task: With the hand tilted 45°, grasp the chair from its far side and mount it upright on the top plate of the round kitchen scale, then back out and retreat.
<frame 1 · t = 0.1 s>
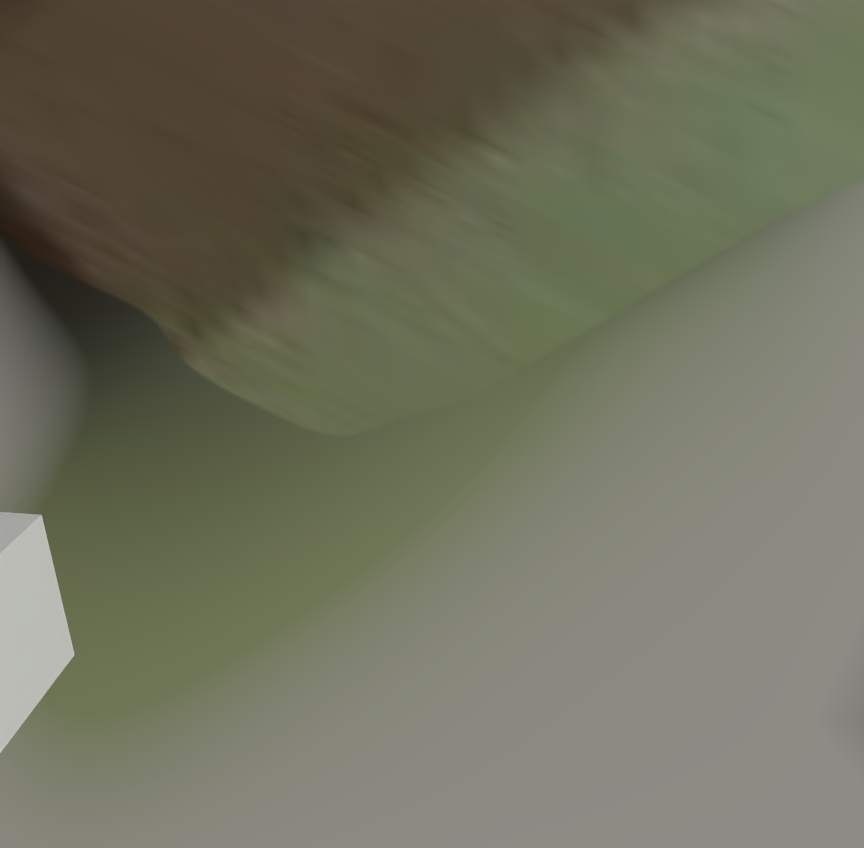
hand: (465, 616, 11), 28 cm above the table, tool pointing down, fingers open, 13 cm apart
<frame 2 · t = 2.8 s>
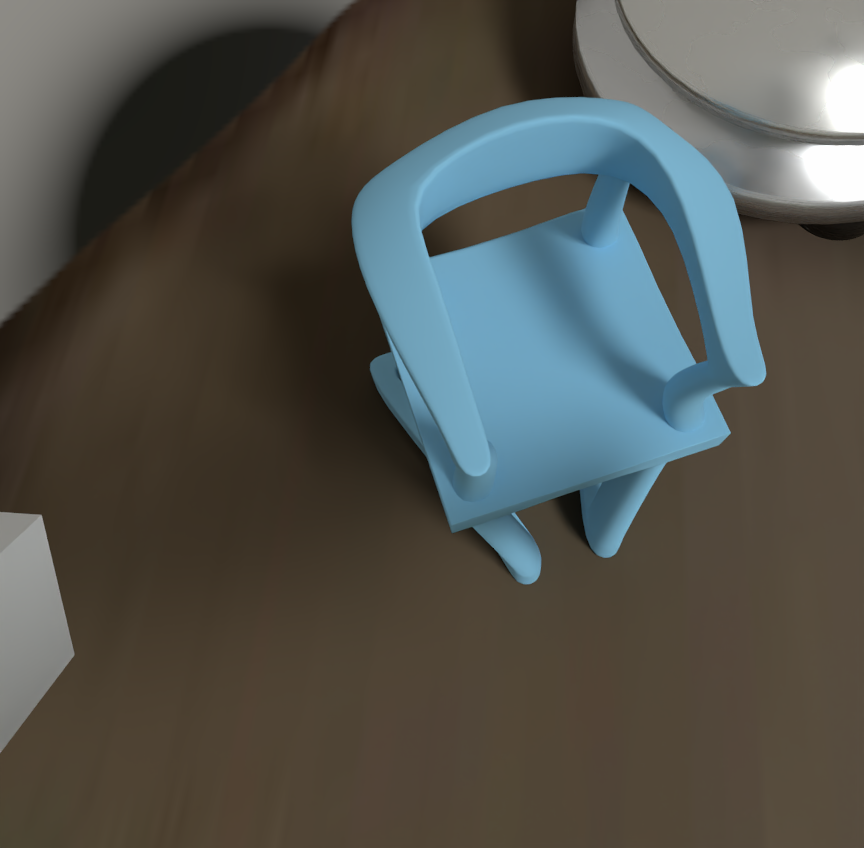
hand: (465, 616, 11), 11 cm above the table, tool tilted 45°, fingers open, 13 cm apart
round kitchen scale: (768, 84, 28), on the table
chair: (522, 447, 24), on the table
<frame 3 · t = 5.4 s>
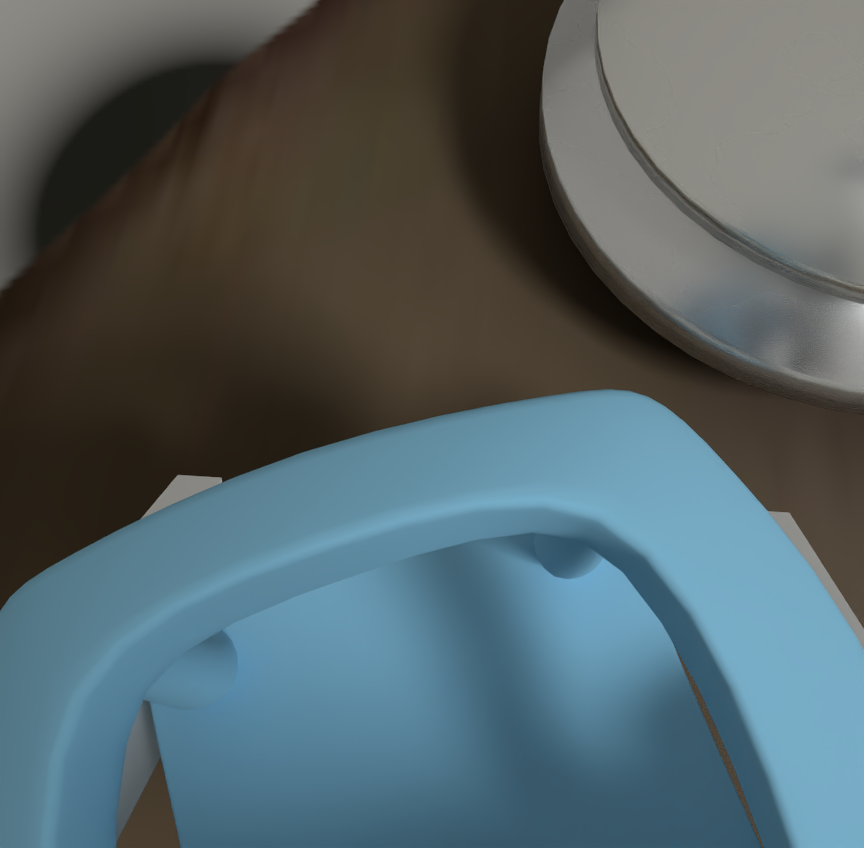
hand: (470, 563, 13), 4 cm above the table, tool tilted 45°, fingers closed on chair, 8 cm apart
round kitchen scale: (818, 180, 20), on the table
chair: (461, 758, 16), on the table, touching gripper
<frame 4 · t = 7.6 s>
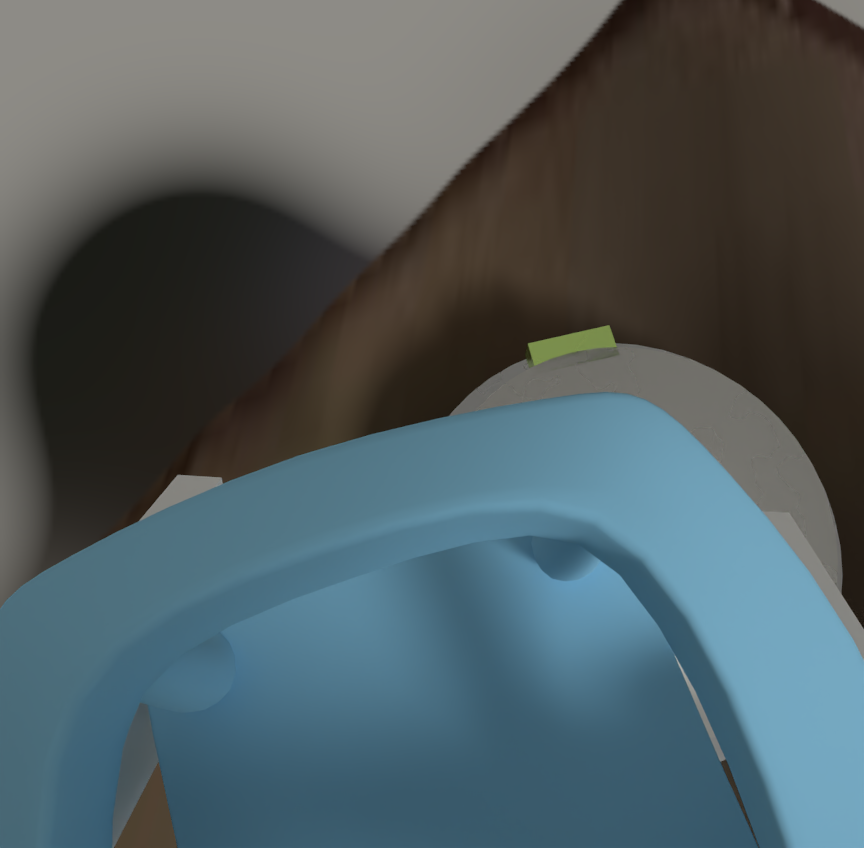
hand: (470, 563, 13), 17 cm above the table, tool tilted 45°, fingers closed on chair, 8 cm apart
round kitchen scale: (602, 554, 29), on the table
chair: (460, 760, 16), point 12 cm above the table, touching gripper
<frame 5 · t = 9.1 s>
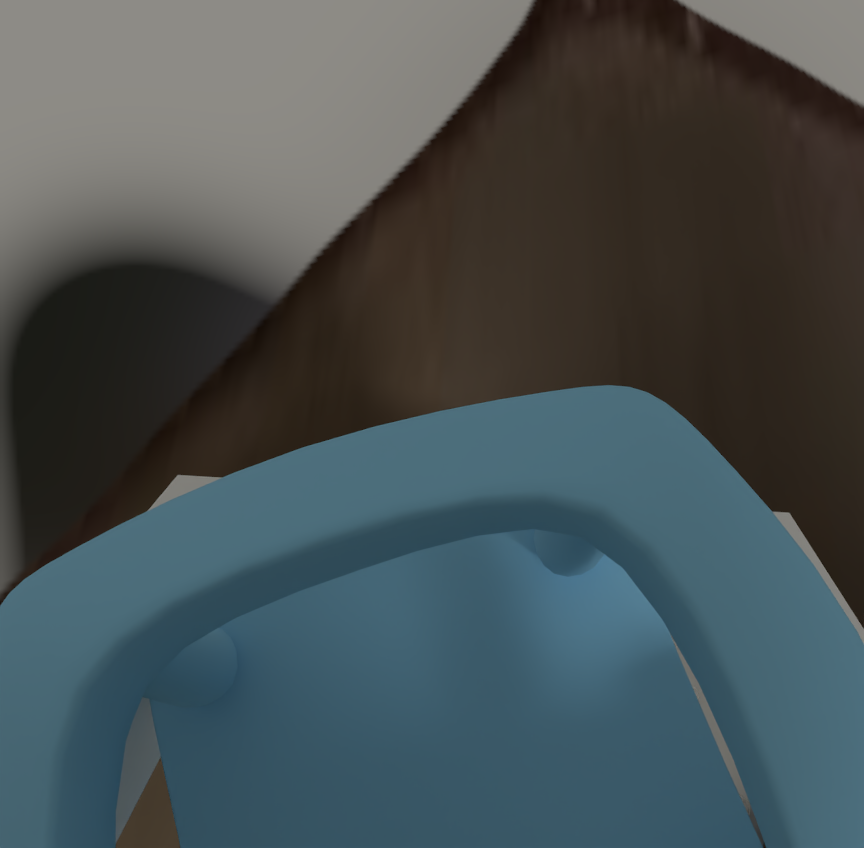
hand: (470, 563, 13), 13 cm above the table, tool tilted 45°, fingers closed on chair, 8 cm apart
round kitchen scale: (479, 741, 23), on the table
chair: (461, 757, 16), point 8 cm above the table, touching gripper
when the fingers open (11 cm above the table, at t = 10.0 s): chair drops 1 cm, resting on round kitchen scale.
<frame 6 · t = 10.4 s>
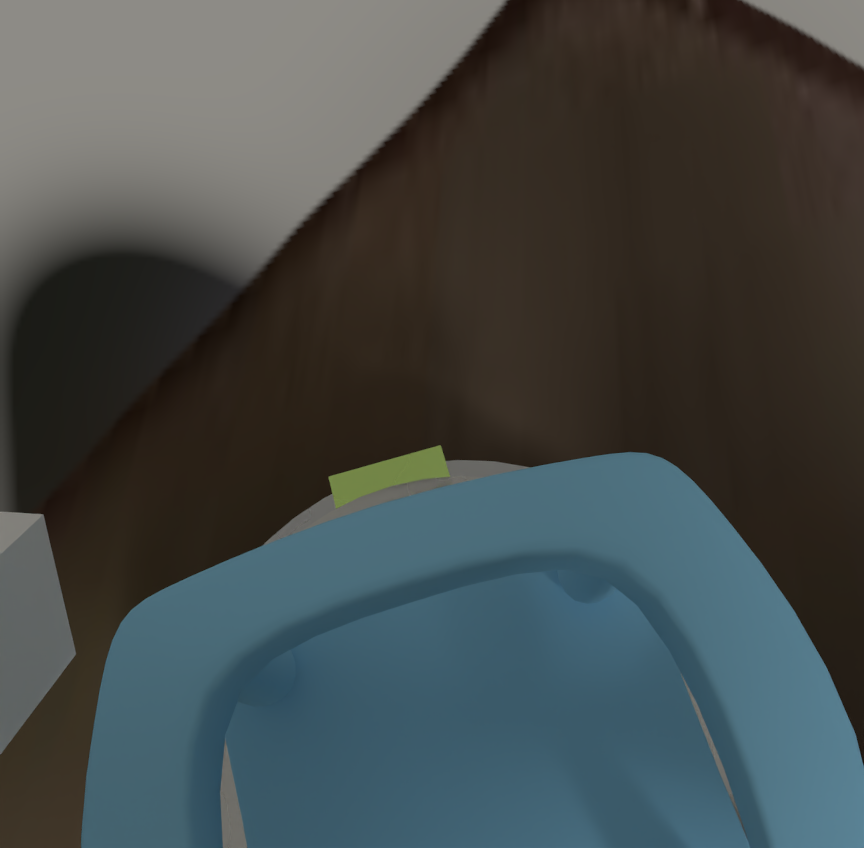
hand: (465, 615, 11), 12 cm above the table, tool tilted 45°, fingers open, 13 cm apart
round kitchen scale: (466, 743, 22), on the table
chair: (477, 758, 17), point 5 cm above the table, touching round kitchen scale
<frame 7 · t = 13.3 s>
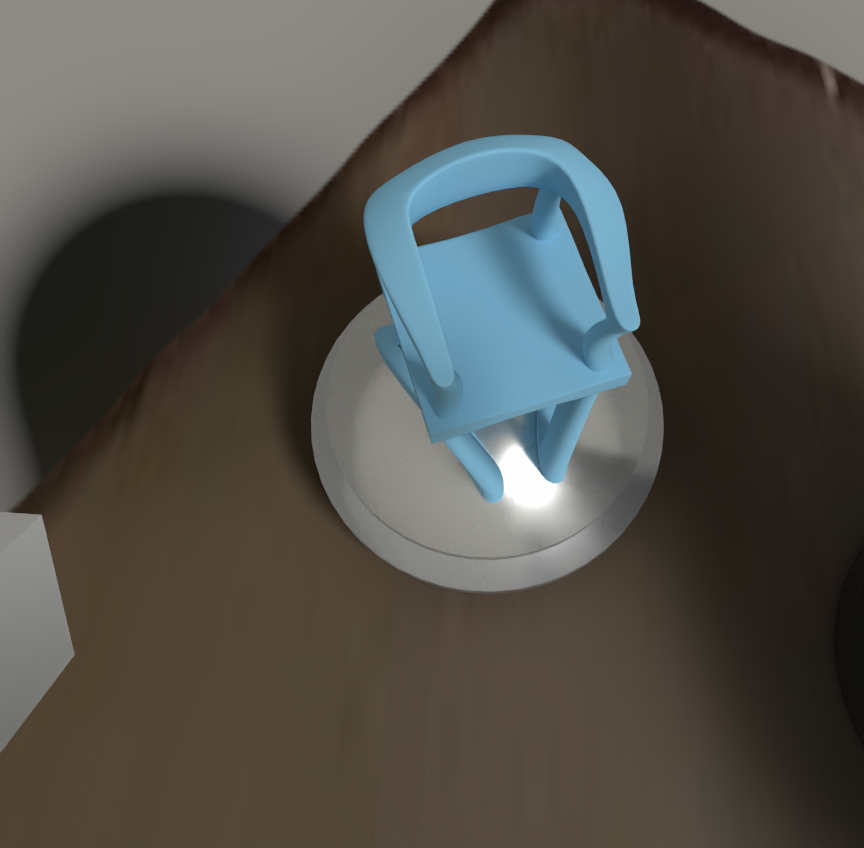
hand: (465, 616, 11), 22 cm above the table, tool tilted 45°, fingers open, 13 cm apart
round kitchen scale: (484, 437, 35), on the table
chair: (492, 400, 31), point 5 cm above the table, touching round kitchen scale
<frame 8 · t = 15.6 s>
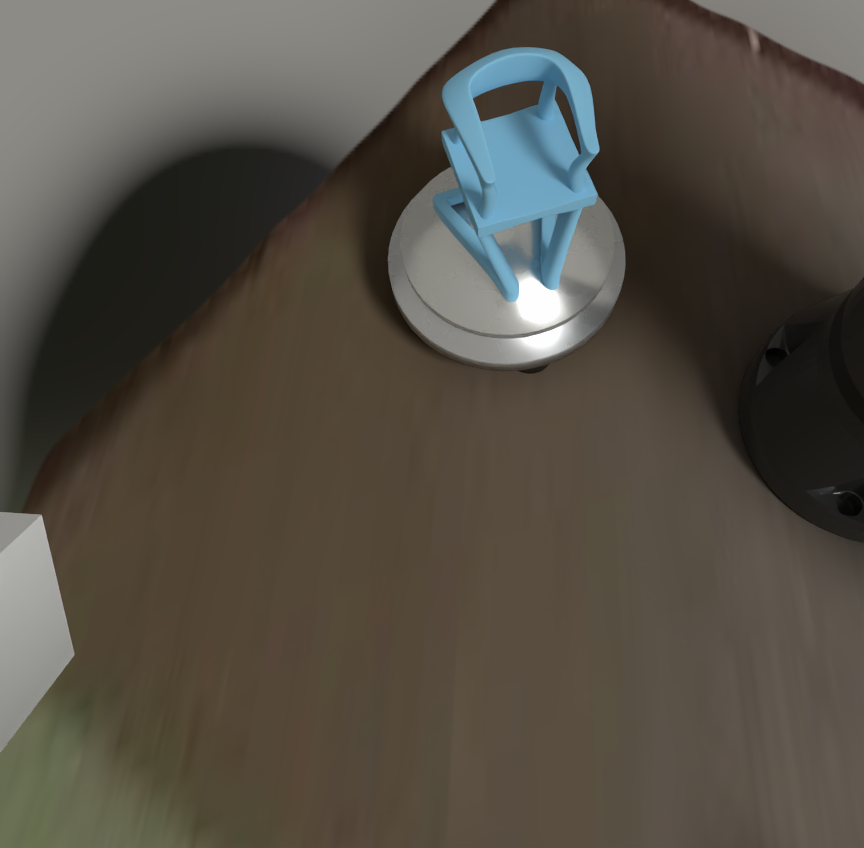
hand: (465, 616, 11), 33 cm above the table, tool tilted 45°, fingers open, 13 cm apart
round kitchen scale: (503, 281, 51), on the table
chair: (511, 241, 46), point 5 cm above the table, touching round kitchen scale
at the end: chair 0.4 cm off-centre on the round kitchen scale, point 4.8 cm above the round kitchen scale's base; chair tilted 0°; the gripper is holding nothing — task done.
